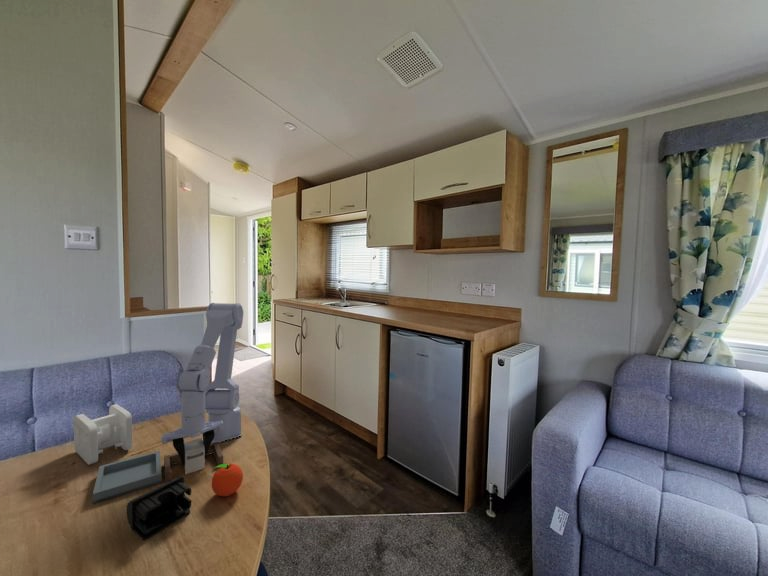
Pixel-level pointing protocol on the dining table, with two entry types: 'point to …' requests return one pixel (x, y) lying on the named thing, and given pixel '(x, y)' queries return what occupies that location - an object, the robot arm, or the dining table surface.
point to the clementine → (227, 479)
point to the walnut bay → (176, 459)
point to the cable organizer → (102, 433)
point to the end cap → (159, 508)
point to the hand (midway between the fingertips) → (193, 460)
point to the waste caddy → (194, 455)
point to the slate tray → (127, 476)
